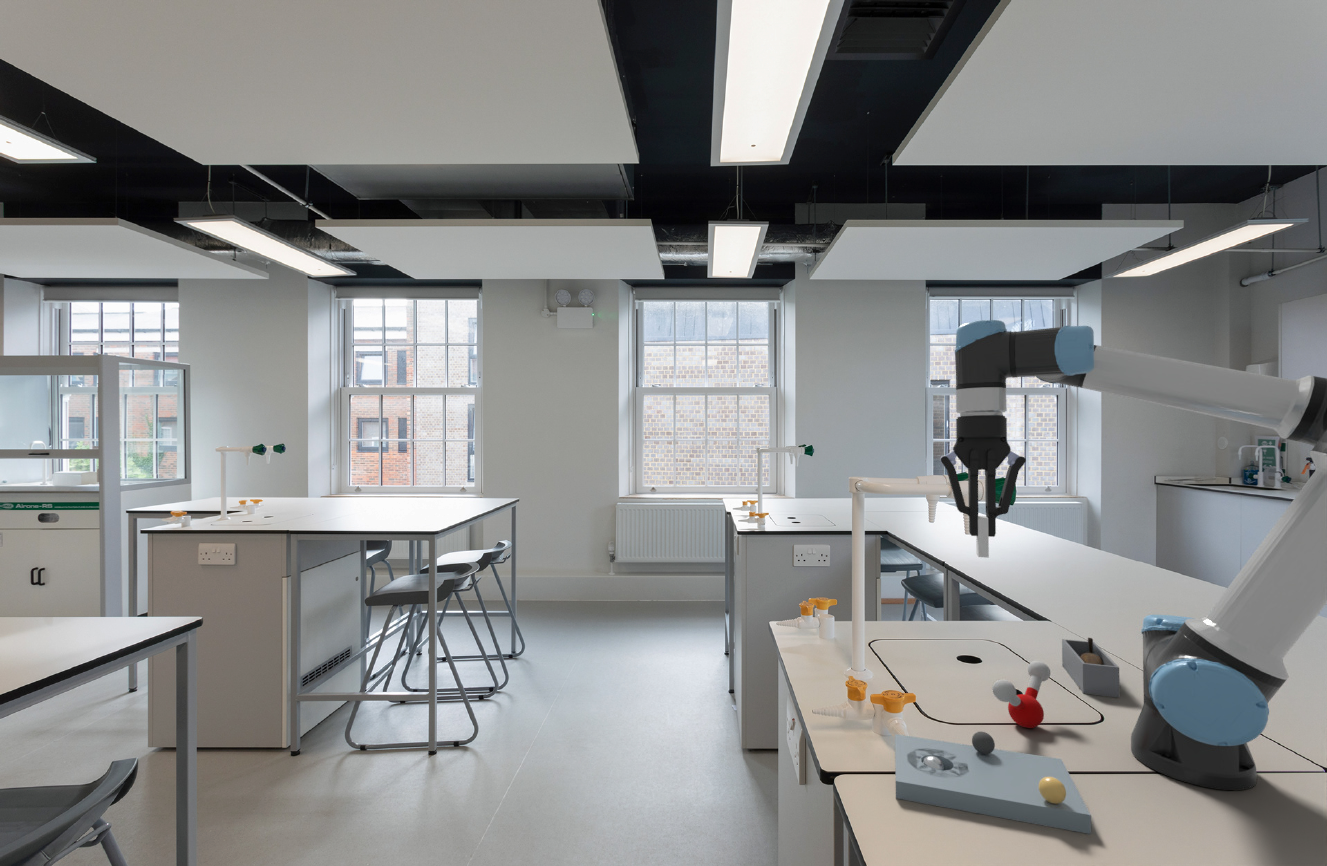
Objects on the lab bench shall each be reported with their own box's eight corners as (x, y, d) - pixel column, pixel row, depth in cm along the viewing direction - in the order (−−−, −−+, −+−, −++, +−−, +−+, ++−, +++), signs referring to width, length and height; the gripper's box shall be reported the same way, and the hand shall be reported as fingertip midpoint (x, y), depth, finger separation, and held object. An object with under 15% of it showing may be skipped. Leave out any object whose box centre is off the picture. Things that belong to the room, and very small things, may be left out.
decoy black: (993, 749, 98) (993, 729, 98) (996, 759, 95) (996, 738, 95) (970, 746, 99) (970, 726, 99) (973, 756, 96) (973, 735, 96)
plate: (1061, 775, 95) (1061, 758, 95) (1091, 834, 81) (1090, 815, 81) (895, 748, 103) (895, 733, 103) (895, 798, 89) (895, 780, 89)
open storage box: (1094, 668, 138) (1094, 642, 138) (1119, 697, 123) (1119, 667, 123) (1062, 665, 140) (1062, 639, 140) (1083, 693, 125) (1082, 663, 125)
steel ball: (932, 747, 96) (916, 760, 97) (933, 757, 93) (917, 770, 94) (948, 765, 95) (932, 777, 96) (950, 775, 92) (933, 788, 93)
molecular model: (1022, 706, 119) (1022, 654, 119) (1057, 716, 115) (1057, 662, 115) (989, 736, 107) (989, 679, 107) (1027, 749, 103) (1026, 689, 103)
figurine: (1076, 669, 139) (1076, 631, 139) (1101, 673, 136) (1101, 634, 136) (1079, 691, 127) (1079, 649, 127) (1105, 696, 124) (1106, 653, 124)
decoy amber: (1063, 797, 85) (1062, 774, 85) (1069, 810, 82) (1068, 786, 82) (1036, 793, 86) (1036, 770, 86) (1041, 806, 83) (1041, 782, 83)
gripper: (1020, 414, 104) (1022, 554, 104) (936, 416, 109) (938, 549, 109) (1030, 413, 97) (1032, 562, 97) (940, 414, 102) (941, 557, 102)
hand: (982, 555), depth 103 cm, fingers closed
